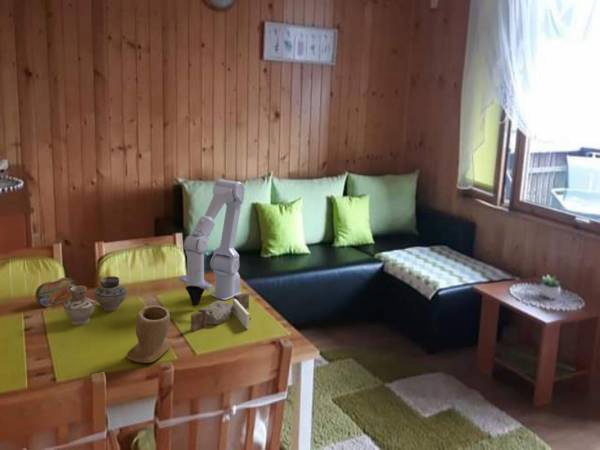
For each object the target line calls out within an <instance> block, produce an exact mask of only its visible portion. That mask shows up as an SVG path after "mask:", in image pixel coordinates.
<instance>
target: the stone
mask: <svg viewBox="0 0 600 450" xmlns="http://www.w3.org/2000/svg"><path fill="white" fill-rule="evenodd" d="M208 306H209V307H204V308H202V307H201V308H199V309H198V310H197V312H199V310H200V309H204V310H206V324H209V325H219V324H222V323H223V322H224V323H225V322H226V321H228V320H229V319H230V318H231V316H232V315H233V314H234V313H233V309H234V306H233V303H232V304H231V303H228V302H225V301H224V300H216V301H214V302H212V303H210V304H209V305H208Z"/></svg>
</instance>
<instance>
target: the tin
mask: <svg viewBox="0 0 600 450" xmlns="http://www.w3.org/2000/svg"><path fill="white" fill-rule="evenodd" d="M75 286H78V284H77V282H76V280H74V278H70V277H61V278H57V279H54V280H51V281H47V282H46V281H45V282H44V283H41V284H40V285H39V286H38V287H37V288H36V289H35V300H36V302H37V303H38V304H39V305H41V306H43V307H46V308H49V307H52V306H56V305H59V304H64V303H65V302H66V301H68V300H69V299H71V298H72V293H71V290H70V289H71V288H72V287H75Z"/></svg>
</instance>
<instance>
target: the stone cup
mask: <svg viewBox="0 0 600 450" xmlns="http://www.w3.org/2000/svg"><path fill="white" fill-rule="evenodd" d="M135 318H136V319H135V335H136V338H137V341H138V343H136V344H134V346H132V347H131V348H130V349H129V350H128V351H127V353H126V357H127V359H129V360H131V361H133V362H137V363H143V364H146V363H153V362H154V361H157V360H158V359H159V358H161V357H162V356H163V355H164V354H165V353H166V352H167V351H168V350H169V349H170V348H171V347H172V346H173V345H174V344H173V341H172V340H170V339H169V338H168V337H166V336H167V333H168V331H169V328H170V325H171V315H170V311H169V310H168V309H167V308H165V307H163V306H161V305H147V306H145V307H142V309H141V310H139V311H138V313H137V315H136V317H135Z"/></svg>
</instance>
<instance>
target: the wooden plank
mask: <svg viewBox="0 0 600 450" xmlns="http://www.w3.org/2000/svg"><path fill="white" fill-rule="evenodd" d="M233 298H236V299H237V301H238V302H239V303H240V304H241V305H242V306H243V307H244V308H245V310H247V309H249V307H250V293H248V292H244V293H242V294H240V295H235V296H234V297H233ZM199 309H200V310H199ZM199 309H198V310H199V312H198V311H197V312H195V313H192V314H190V331H191V332H197V331H200V330H202V329H206V328H207V323H206V310H204V309H201V308H199Z"/></svg>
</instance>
